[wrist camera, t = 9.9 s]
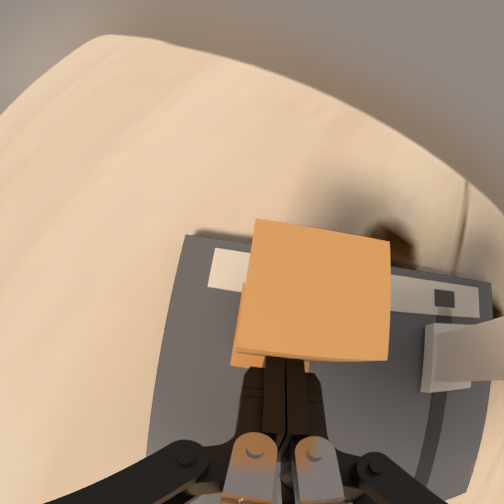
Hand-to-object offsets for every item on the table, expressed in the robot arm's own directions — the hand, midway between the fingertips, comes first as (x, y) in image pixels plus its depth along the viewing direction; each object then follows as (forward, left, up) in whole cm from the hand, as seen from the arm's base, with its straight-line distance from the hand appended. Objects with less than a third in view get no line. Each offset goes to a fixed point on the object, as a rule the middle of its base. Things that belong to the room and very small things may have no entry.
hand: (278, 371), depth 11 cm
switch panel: (-6, +2, -5) cm, 8 cm away
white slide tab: (-12, -1, -4) cm, 13 cm away
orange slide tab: (0, -2, -4) cm, 4 cm away
